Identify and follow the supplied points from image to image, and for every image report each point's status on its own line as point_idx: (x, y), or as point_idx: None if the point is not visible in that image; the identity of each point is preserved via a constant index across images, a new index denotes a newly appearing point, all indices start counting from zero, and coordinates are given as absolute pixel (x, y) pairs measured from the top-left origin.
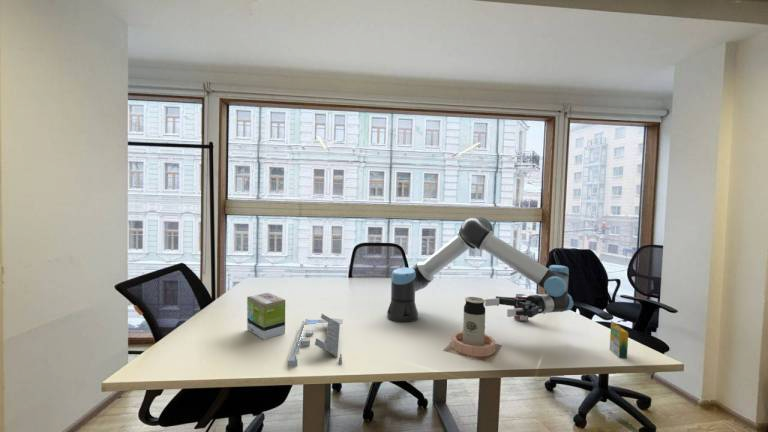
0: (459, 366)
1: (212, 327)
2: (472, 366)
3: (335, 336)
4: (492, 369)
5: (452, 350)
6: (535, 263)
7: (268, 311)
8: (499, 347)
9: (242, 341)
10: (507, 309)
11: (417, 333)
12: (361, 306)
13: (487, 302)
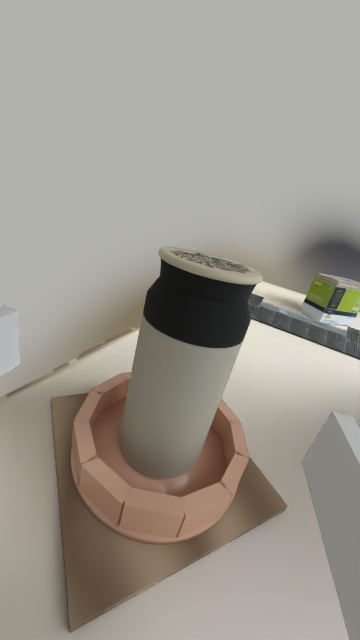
0: (114, 357)
1: None
2: (91, 370)
3: (297, 330)
4: (38, 383)
5: None
6: None
7: (315, 283)
8: (72, 556)
9: (296, 305)
10: (17, 311)
11: (323, 423)
12: None
13: (324, 450)
